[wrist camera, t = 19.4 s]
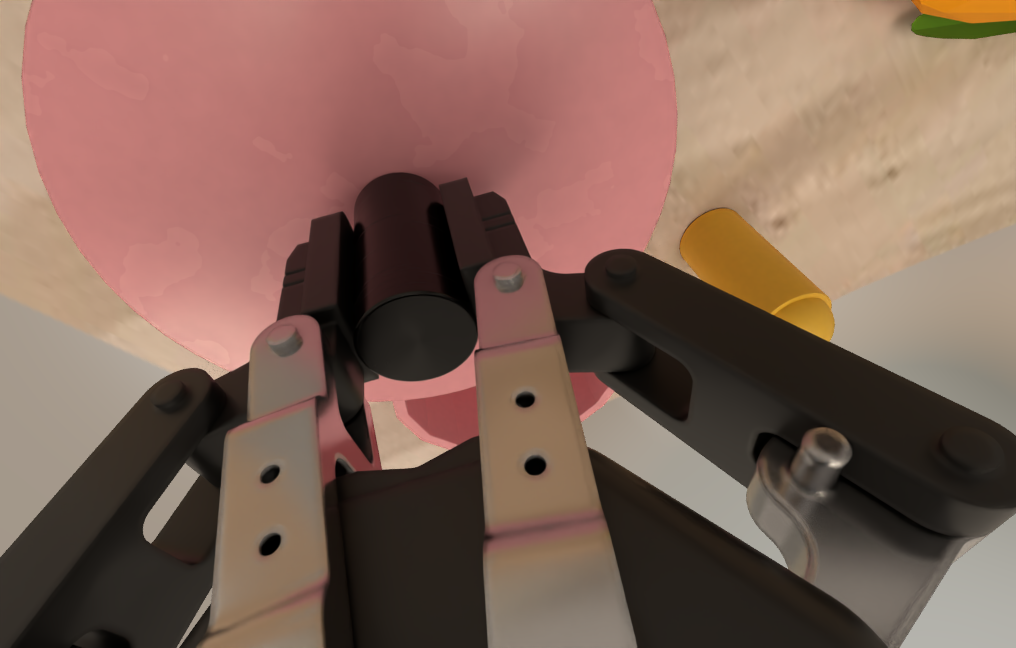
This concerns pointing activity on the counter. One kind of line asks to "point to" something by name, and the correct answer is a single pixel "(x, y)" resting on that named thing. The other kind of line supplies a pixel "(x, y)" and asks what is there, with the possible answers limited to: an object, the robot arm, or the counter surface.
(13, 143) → the counter surface
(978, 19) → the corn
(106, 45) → the lid
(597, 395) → the pot
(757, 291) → the yellow rounded cylinder
